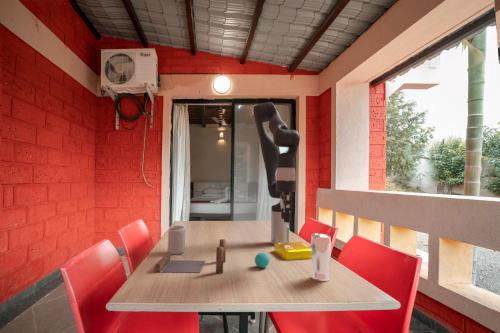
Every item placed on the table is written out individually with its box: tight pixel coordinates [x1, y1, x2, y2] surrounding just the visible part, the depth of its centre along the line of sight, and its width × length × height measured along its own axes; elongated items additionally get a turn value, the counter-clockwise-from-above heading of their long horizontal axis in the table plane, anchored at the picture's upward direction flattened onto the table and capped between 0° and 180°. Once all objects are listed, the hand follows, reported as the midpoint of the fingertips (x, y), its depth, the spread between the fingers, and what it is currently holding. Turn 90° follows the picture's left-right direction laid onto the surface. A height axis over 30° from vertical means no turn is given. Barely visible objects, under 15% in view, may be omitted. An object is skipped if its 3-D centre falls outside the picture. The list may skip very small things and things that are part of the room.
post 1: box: [218, 238, 227, 264], centre depth 113 cm, size 3×3×9 cm
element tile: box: [273, 241, 312, 261], centre depth 126 cm, size 15×15×5 cm
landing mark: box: [160, 259, 206, 274], centre depth 106 cm, size 14×14×1 cm
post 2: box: [215, 246, 224, 275], centre depth 100 cm, size 3×3×9 cm
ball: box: [254, 252, 270, 268], centre depth 107 cm, size 6×6×6 cm
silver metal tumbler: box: [310, 233, 332, 282], centre depth 96 cm, size 7×7×15 cm
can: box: [167, 225, 186, 256], centre depth 125 cm, size 8×8×12 cm
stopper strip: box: [155, 252, 172, 274], centre depth 106 cm, size 2×14×3 cm, turn 1°
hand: (285, 220), depth 107 cm, fingers open, 8 cm apart
